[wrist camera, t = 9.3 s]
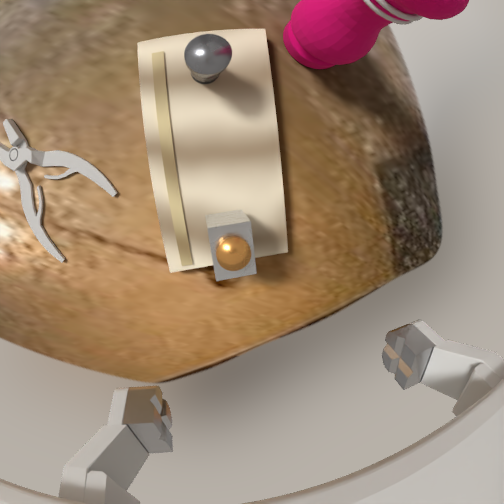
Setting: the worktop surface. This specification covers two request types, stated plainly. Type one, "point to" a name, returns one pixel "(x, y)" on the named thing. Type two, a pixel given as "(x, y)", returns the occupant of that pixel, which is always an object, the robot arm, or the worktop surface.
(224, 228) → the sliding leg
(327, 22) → the pepper mill
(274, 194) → the board
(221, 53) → the fixed leg
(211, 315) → the worktop surface
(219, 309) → the worktop surface
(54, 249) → the pliers
